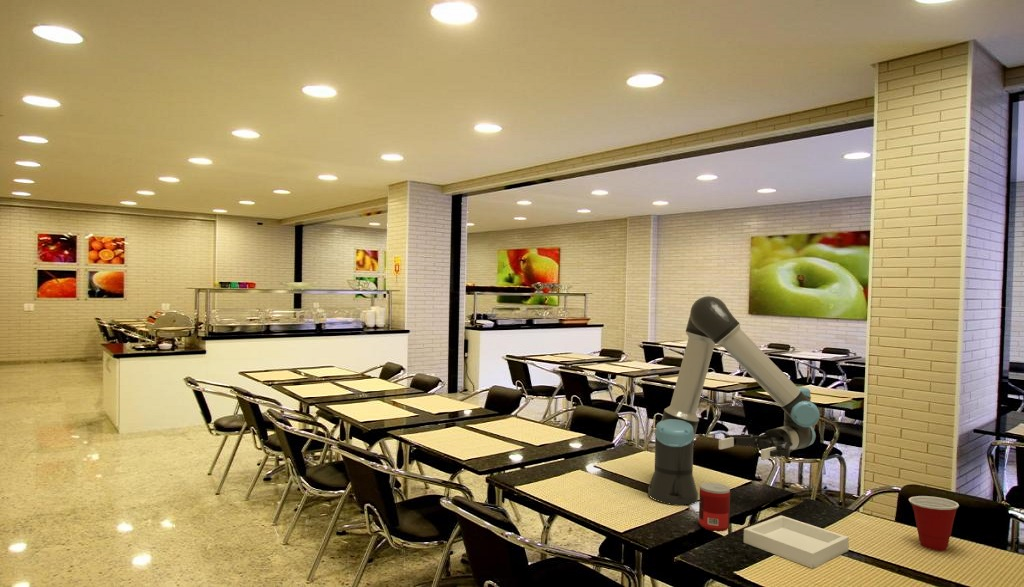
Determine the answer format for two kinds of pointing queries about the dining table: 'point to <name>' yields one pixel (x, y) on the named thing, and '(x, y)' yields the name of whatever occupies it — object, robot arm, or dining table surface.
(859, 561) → the dining table surface
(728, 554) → the dining table surface
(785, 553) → the tray
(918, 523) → the plastic cup
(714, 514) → the canned food
